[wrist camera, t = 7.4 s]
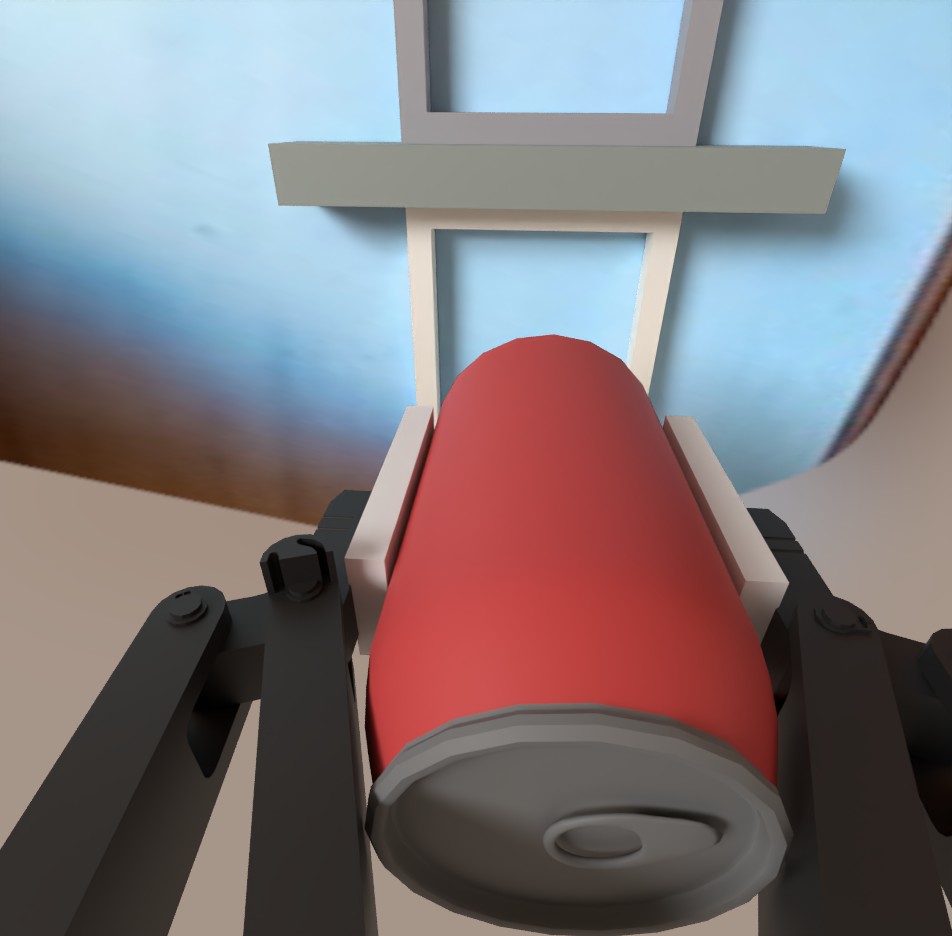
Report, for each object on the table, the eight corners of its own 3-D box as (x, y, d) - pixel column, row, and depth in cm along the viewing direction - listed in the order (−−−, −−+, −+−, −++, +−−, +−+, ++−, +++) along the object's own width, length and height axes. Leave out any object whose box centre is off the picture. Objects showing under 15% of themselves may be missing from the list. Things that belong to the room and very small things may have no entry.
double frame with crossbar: (338, 425, 29) (321, 454, 26) (233, -292, 16) (180, -369, 14) (722, 440, 28) (742, 472, 25) (939, -317, 15) (1023, -407, 12)
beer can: (661, 490, 18) (834, 948, 8) (474, 526, 20) (421, 954, 10) (632, 299, 15) (861, 665, 5) (410, 359, 16) (229, 739, 6)
